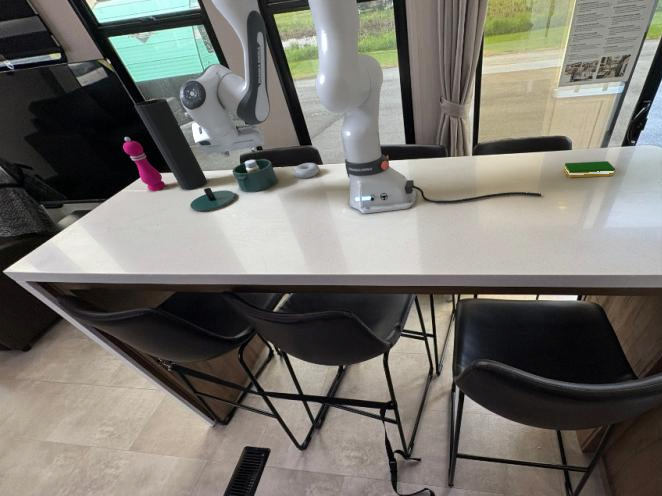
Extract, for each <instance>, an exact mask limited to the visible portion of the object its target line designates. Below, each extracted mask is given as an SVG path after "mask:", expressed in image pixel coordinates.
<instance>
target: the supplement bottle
mask: <svg viewBox="0 0 662 496" xmlns="http://www.w3.org/2000/svg"><path fill="white" fill-rule="evenodd" d="M255 160H256V159H249V160H246V161H245V162H244V163H245V165H246V170H247V173H251V172H256V171H259V170H260V169H259V166H258V165H257V164H256V161H255Z"/></svg>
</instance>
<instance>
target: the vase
mask: <svg viewBox="0 0 662 496" xmlns="http://www.w3.org/2000/svg"><path fill="white" fill-rule="evenodd" d="M133 106H134V108H135V110H136V112H137V114H138V115H139V117H140V119H141V121H142V122H143V124H144V125H145V126H144V127H146V129H147V131H148V133H149V134H150V137H151V138H152V140H153V142H154V143H155V145H156V146H157V148H158V150H159V152H160V154H161V156H162V157H163V159H164V161H165V162H166V164H167V166H168V168H169V169H170V171H171V173H172V174H173V176H174V178H175V179H176V181H177V183H178V185H179V187H180V188H181V190H183V191H184V190H185V191H190V190H196V189H199V188H202V187H203V186H205V185H206V184H207V183H208V179H207V177H206V175H205V173H204V172H203V169H202V167H201V166H200V163H199V162H198V159H197V157H196V155H195V154H194V152H193V150H192V148H191V146H190V144H189V142H188V140H187V137H186V135H185V134H184V132H183V130H182V128H181V126H180V124H179V121H178V120H177V118H176V116H175V114H174V112H173V110H172V108H171V106H170V104H169V102H168V100H167V99H166V98H156V99H149V100H144V101H141V102H137V103H135V104H134V105H133Z"/></svg>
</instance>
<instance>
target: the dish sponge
mask: <svg viewBox="0 0 662 496" xmlns="http://www.w3.org/2000/svg"><path fill="white" fill-rule="evenodd" d="M564 166H565V167H566V169H567V170H568V171H569V173H589V172H597V171H599V172H600V171H614V173H615V171H616V167H614V166H613V165H612V164H611V162H609V161H607V160H605V161H604V160H603V161H583V162H565V163H564ZM566 169H565V168H564V167H563V171H564V173H565V174H566V175H567V177H568V178H591V177H594V178H595V177H613V176H614V173H609V174H584V175H569V174H568V172H567V171H566Z"/></svg>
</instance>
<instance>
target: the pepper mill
mask: <svg viewBox="0 0 662 496" xmlns="http://www.w3.org/2000/svg"><path fill="white" fill-rule="evenodd" d="M124 141H125V142H124V143H123V145H122V148H123V150H124V152H125V153H126V155H129V158H130V159H131V161H133V162H134V164H136V166H137V169H138V173H139V177H140V180H141V182H142V183H143V184H145V185H147V189H148V190H149V191H150V192H157V191H160V190H163V189H165V188H166V187H167V185H166V183H165V181H163V180H162V179H163V176H162V174H161V173H160V172H159V171H158V170H157V169H156V168H155V167H153V165H152V164H151V163H150V162H149V161H148V159H147V155H146V154H145V152H144V147H143V146H142V144H141V143H140V142H138V141H135V140H131V138H130V137H129V136H125V137H124Z"/></svg>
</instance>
